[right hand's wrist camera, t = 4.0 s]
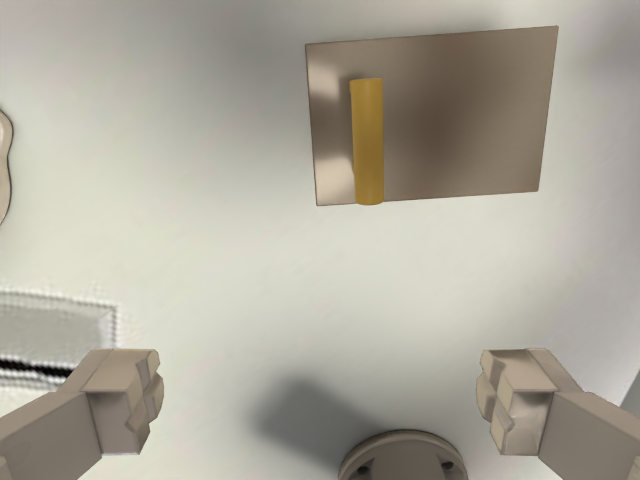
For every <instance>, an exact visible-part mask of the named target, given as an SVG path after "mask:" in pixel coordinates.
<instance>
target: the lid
mask: <svg viewBox="0 0 640 480" xmlns="http://www.w3.org/2000/svg"><path fill="white" fill-rule="evenodd" d="M558 28H559V27H558V26H545V27H531V28H518V29H504V30H490V31H476V32H462V33H449V34H435V35H421V36H407V37H393V38H379V39H366V40H352V41H338V42H324V43H310V44H305V54H306V68H307V81H308V95H309V109H310V123H311V137H312V151H313V164H314V178H315V192H316V205H317V206H328V205H343V204H361V205H376V204H380V203H382V202H388V201H403V200H418V199H433V198H448V197H463V196H478V195H493V194H508V193H523V192H537V191H538V188H539V180H540V172H541V164H542V156H543V148H544V140H545V132H546V124H547V116H548V108H549V100H550V92H551V84H552V76H553V68H554V60H555V52H556V44H557V36H558Z"/></svg>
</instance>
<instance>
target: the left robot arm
mask: <svg viewBox="0 0 640 480" xmlns="http://www.w3.org/2000/svg"><path fill="white" fill-rule="evenodd" d="M338 480H468V476H467V472H466V469H465V467H464V464H463V461H462V459H461V457H460V455H459V454H458V452H457V451H456V450H455V449H454V448H453V446H451V445H450V444H449V443H448V442H446V441H445V440H443V439H441V438H439V437H437V436H435V435H432V434H429V433H425V432H420V431H411V430H401V431H393V432H387V433H383V434H380V435H377V436H374V437H372V438H370V439H368V440H366V441H364V442H363V443H361V444H359V445H358V446H357V447H355V448H354V449H353V450H352V451H351V452H350V453H349V454H348V455H347V457H346V458H345V460H344V461H343V463H342V465H341V467H340V470H339V475H338Z"/></svg>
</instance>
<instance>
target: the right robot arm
mask: <svg viewBox="0 0 640 480" xmlns="http://www.w3.org/2000/svg"><path fill="white" fill-rule="evenodd" d="M11 139H12V126H11V123H10V121H9V120H8V118H7V117H6V116H5V115H4V114H3V113H2V112H1V111H0V224H1V222H2V221H3V219H4V217H5V215H6V212H7V209H8V205H9V200H10V181H9V175H8V169H7V154H8V151H9V147H10V144H11ZM159 365H160V360H159V355H158V352H157V351H156V350H155V349H93V350H91V351H90V352H89V353H88V354H87V355H86V357H85V358H84V359H83V360H82V361H81V363H80V364H79V365H78V366H77V367H76V369H75V370H74V371H73V372H72V373H71V374H70V376H69V377H68V378H67V379H66V380H65V382H64V383H63V384H62V385H61V386H60V388H59V389H58V390H57V391H56V392H49V393H47V394H45V395H43V396H41V397H39V398H37V399H35V400H33V401H31V402H30V403H28V404H26V405H24V406H22V407H20V408H18V409H16V410H14V411H12V412H11V413H9V414H7V415H5V416H3V417H1V418H0V480H77V479H78V478H79V477H80V476H82V475H83V474H84V473H85V472H86V471H87V470H89V469H90V468H91V467H92V466H93V465H94V464H96V463H97V462H98V461H99V460H100V459H101V458H102V456H117V455H139V454H140V452H141V450H142V448H143V446H144V444H145V442H146V440H147V438H148V436H149V433H150V428H149V423H150V422H152V421H153V420H154V419H156V418H157V417H158V414H159V412H160V410H161V407H162V402H163V398H164V384H163V378H162V377H161V376H160V375H159V374H158V373H157V372H156V370H157V369H158V367H159ZM480 365H481V367H482V369H483V370H484V372H483V373H482V374H481V375H480V376H479V377H478V378H477V385H476V396H477V403H478V407H479V410H480V412H481V414H482V417H483V418H484V419H486V420H487V421H488V422H490V423H491V428H490V433H491V436H492V438H493V440H494V442H495V444H496V446H497V448H498V450H499V452H500V454H501V455H523V456H538V458H539V459H540V460H541V461H542V462H544V463H545V464H546V465H547V466H548V467H549V468H550V469H552V470H553V471H554V472H555V473H556V474H557V475H559V476H560V477H561V478H562V479H563V480H640V418H639V417H637V416H635V415H633V414H631V413H629V412H627V411H626V410H624V409H622V408H620V407H618V406H616V405H614V404H612V403H610V402H609V401H607V400H605V399H603V398H601V397H599V396H597V395H595V394H593V393H591V392H584V391H583V390H582V389H581V388H580V386H579V385H578V384H577V383H576V382H575V380H574V379H573V378H572V377H571V376H570V375H569V373H568V372H567V371H566V370H565V369H564V367H563V366H562V365H561V364H560V363H559V361H558V360H557V359H556V358H555V357H554V355H553V354H552V353H551V352H550V351H549V350H547V349H545V348H537V349H520V350H484V351H483V353H482V355H481V360H480Z"/></svg>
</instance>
